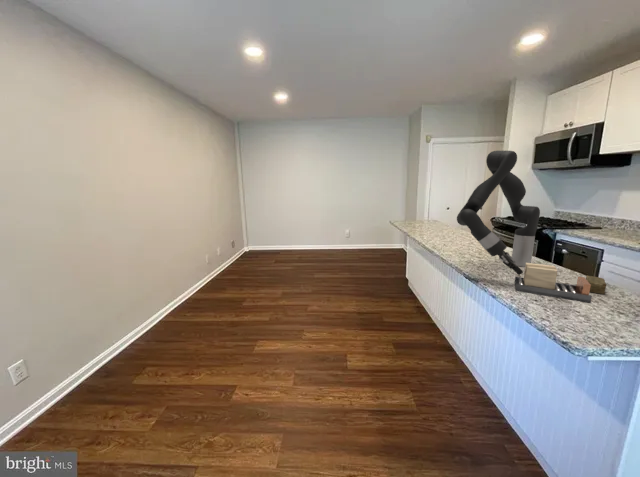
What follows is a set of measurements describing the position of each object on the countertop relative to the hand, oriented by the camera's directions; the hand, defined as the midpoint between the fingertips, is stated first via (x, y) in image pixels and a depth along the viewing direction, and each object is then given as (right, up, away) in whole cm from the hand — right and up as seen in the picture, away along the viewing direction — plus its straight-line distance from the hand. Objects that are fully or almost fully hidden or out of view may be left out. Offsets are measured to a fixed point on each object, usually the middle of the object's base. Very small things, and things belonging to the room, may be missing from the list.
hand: (520, 273), depth 123 cm
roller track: (+9, -7, -4) cm, 12 cm away
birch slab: (+5, -4, -3) cm, 7 cm away
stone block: (+30, -7, -3) cm, 31 cm away
